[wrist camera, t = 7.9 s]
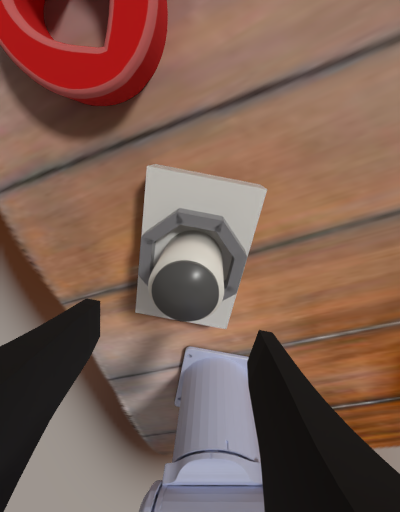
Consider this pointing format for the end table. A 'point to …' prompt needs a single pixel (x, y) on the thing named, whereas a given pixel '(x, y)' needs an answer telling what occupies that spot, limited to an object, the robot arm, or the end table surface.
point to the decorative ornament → (88, 50)
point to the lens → (188, 277)
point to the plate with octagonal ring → (197, 227)
